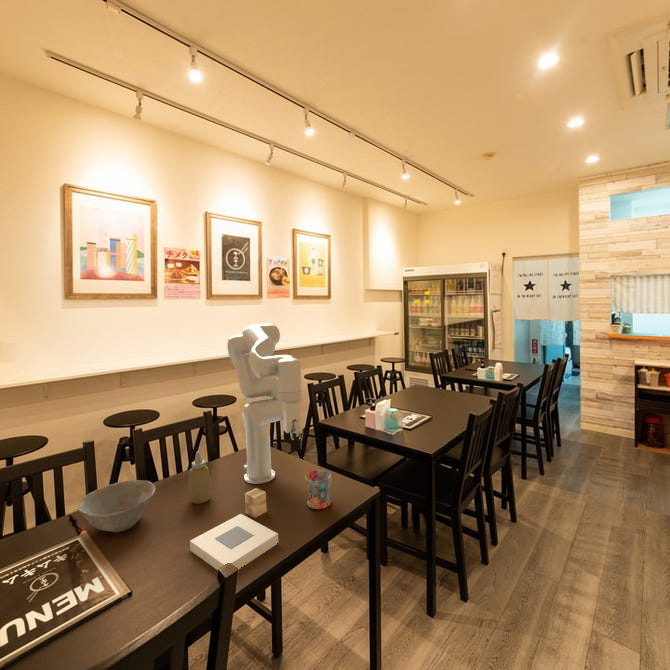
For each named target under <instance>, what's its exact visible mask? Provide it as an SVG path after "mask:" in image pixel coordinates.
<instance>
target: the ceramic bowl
mask: <svg viewBox="0 0 670 670" xmlns="http://www.w3.org/2000/svg"><path fill="white" fill-rule="evenodd" d="M155 491H156V485H155V484H154V483H152V482H151V481H150V480H144V479H143V480H139V479H138V480H137V479H132V480H131V479H130V480H124V481H118V482H114V483H111V484H109V485H105V486H104V487H103V486H102V487H100V488H97V489H94V491H91V492H88V493H87V494H86V495H85V496H84V497H82V499H80V501H78V504H77V510H78V511H79V513H80V514H81V515H82V516H83V517H84V518H85V520H87V522H88V523H89V524H90V525H92V526H93V527H94V528H95V529H97V530H100V531H103V532H109V533H122V532H124V531H127V530H129V529H131V528H133V527H134V526H135V525H136V524H137V522H139V520H140V519H141V518H142V517H143V516H144V513H145V511H146V510H147V508H148V506H149V503H150V502H151V499H152V498H153V496H154V494H155ZM121 531H122V532H121Z"/></svg>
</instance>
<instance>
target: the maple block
mask: <svg viewBox="0 0 670 670" xmlns="http://www.w3.org/2000/svg"><path fill="white" fill-rule="evenodd" d="M244 503H245V514H247V515H249V516H251V517H252V518H255V519H256V518H257V517H259V516H261V515H263V514H265V513H267V512H268V510H267V508H268V507H267V493H266V491H264V490H262V489H260V488H258V487H256V488H253V489H252V490H249V491H247V492H245V493H244Z"/></svg>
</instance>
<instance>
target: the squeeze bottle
mask: <svg viewBox="0 0 670 670" xmlns="http://www.w3.org/2000/svg"><path fill="white" fill-rule="evenodd" d="M188 475H189V477H188V495H189V497H190V499H191V501H192V503H193V504H197V505H198V504H200V505H201V504H203V503H206V502H208V501H209V500H210V498H211V494H212V489H213V487H212V482H211V475H210V471H209V466H207V465H206V460H205V459H202V456H201V452H200V451H196V452H195V458H194V461H192V462H191V468H190V469H189V473H188Z"/></svg>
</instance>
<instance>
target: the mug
mask: <svg viewBox="0 0 670 670" xmlns="http://www.w3.org/2000/svg"><path fill="white" fill-rule="evenodd" d="M334 478H335V477H334V474H333V473H331V472H329V471H327V470H325V469H316V470H315V469H314V470H311V471H308V472H307V473H305V475H304V479H305V482H306V484H307V487H308V498H307V501H306V505H307V506H308V507H309V508H311V509H313V510H323V509H326V508H328V507H330V506H331V502H332V500H331V499H330V496H329V489H330V488H331V486H332V483H333V481H334Z"/></svg>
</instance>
